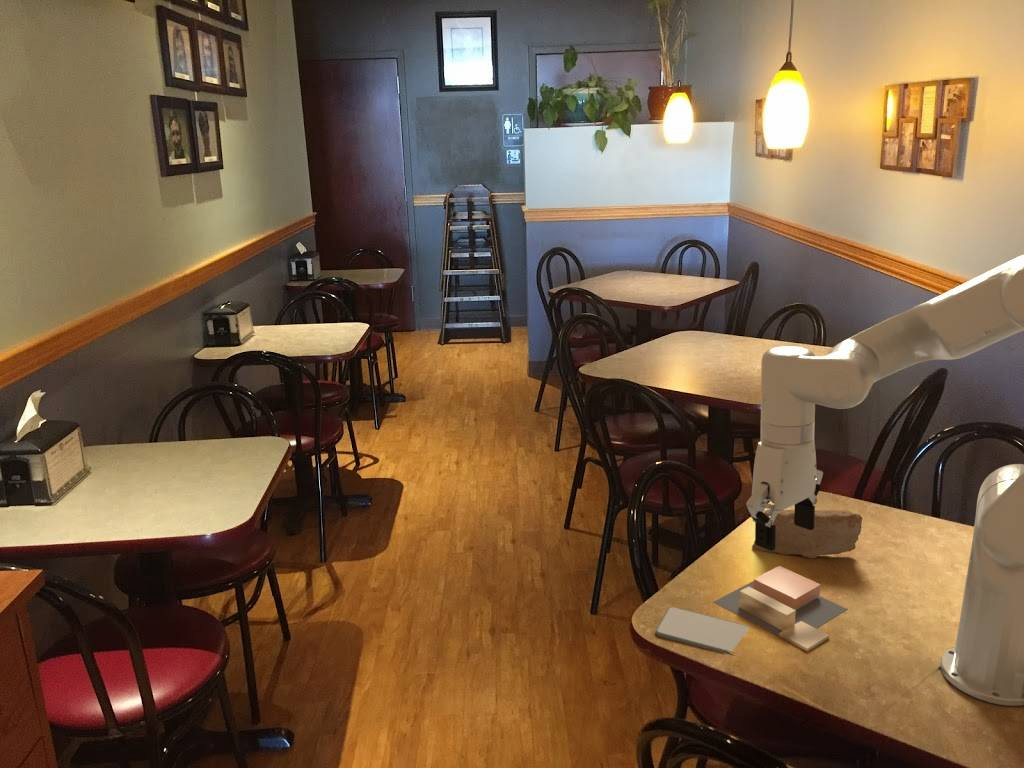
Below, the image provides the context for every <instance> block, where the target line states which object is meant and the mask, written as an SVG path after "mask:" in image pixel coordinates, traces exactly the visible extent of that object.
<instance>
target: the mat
mask: <svg viewBox="0 0 1024 768" xmlns="http://www.w3.org/2000/svg"><path fill="white" fill-rule="evenodd" d="M753 582H754V580H753V581H750V582H748V583H747V584H745V585H743V586H741V587H739V588H737V589H735V590H733V591H731V592H729V593H728V594H725V595H724V596H722V597H720V598H718V599H716V600H714V601H713V603H714V604H716V605H718V606H720V607H722V608H723V609H726V610H727V611H729V612H731V613H733V614H734V615H736V616H738V617H741V618H742V619H744V620H746V621H748V622H750V623H752V624H753V625H755V626H757V627H759V628H761V629H763V630H764V631H767V632H769V633H770V634H772V635H774V636H776V637H777V638H780V639H782V640H783V641H785V642H787V643H789V644H792V643H791V642H789V641H787V640H785V639H783V638H781V637H780V636H779V633H780V632H782V630H780V629H778V628H777V627H775V626H773V625H771V624H769V623H767V622H765V621H764V620H762V619H760V618H758V617H756V616H754V615H752V614H751V613H749V612H747V611H745V610H743V609H741V608H739V596H740V591H741V590H743V589H745V588H747V587H751V588H753ZM846 611H848V608H846V607H844V606H843V605H839V604H838V603H835V602H834V601H831V600H828V599H827V598H824V597H823V596H820V595H819V596H818V598H816V599H814V600H813V601H811V602H809V603H807V604H806V605H804V606H802V607H801V608H799V609H797V610H796V614H795V624H796V623H798V622H800V621H802V622H804V623H806V624H808V625H810V626H812V627H814V628H816V629H819V628H820V627H822V626H823V625H825V624H827V623H829V622H830V621H832V620H833V619H834V618H836V617H838V616H840V615H841V614H842V613H845V612H846ZM792 645H793V644H792Z"/></svg>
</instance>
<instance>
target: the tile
mask: <svg viewBox="0 0 1024 768" xmlns="http://www.w3.org/2000/svg"><path fill="white" fill-rule="evenodd" d="M753 581H754V582H753V589H755V590H757V591H759V592H761V593H763V594H765V595H767V596H768V597H770V598H772V599H774V600H776V601H778V602H780V603H782V604H784V605H786V606H788V607H790V608H792V609H794V610H797V609H799V608H801V607H802V606H804V605H806V604H807V603H809V602H811V601H813V600H814V599H816V598H818V596H820V595H821V584H820V583H818V582H816V581H814V580H812V579H809V578H807V577H805V576H803V575H800V574H798V573H796V572H794V571H792V570H790V569H787V568H785V567H783V566H781V565H778V566H776V567H774V568H772V569H770V570H768V571H767V572H764V573H763V574H761V575H759V576H756V577H755V578H753Z"/></svg>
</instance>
